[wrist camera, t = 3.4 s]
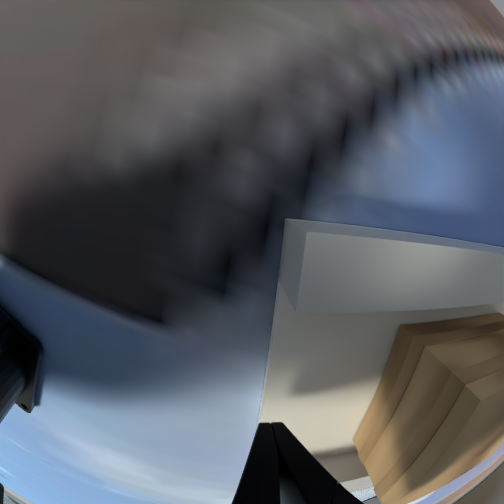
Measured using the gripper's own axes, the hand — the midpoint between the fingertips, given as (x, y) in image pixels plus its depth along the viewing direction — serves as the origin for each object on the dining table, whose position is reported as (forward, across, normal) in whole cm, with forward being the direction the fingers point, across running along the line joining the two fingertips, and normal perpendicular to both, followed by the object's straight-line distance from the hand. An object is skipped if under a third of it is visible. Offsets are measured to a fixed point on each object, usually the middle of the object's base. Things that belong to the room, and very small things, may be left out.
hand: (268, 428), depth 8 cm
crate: (+2, -9, 0) cm, 9 cm away
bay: (+2, -12, 0) cm, 12 cm away
